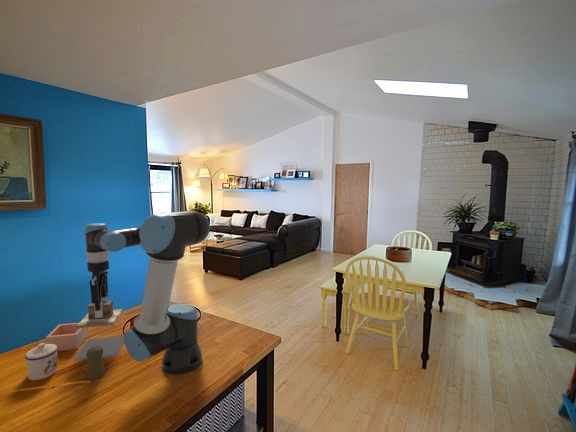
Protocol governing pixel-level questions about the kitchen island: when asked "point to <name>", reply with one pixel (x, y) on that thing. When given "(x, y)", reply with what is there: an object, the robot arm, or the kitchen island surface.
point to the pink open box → (67, 336)
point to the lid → (107, 319)
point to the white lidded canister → (42, 361)
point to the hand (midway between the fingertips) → (101, 314)
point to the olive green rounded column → (95, 364)
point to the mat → (108, 344)
